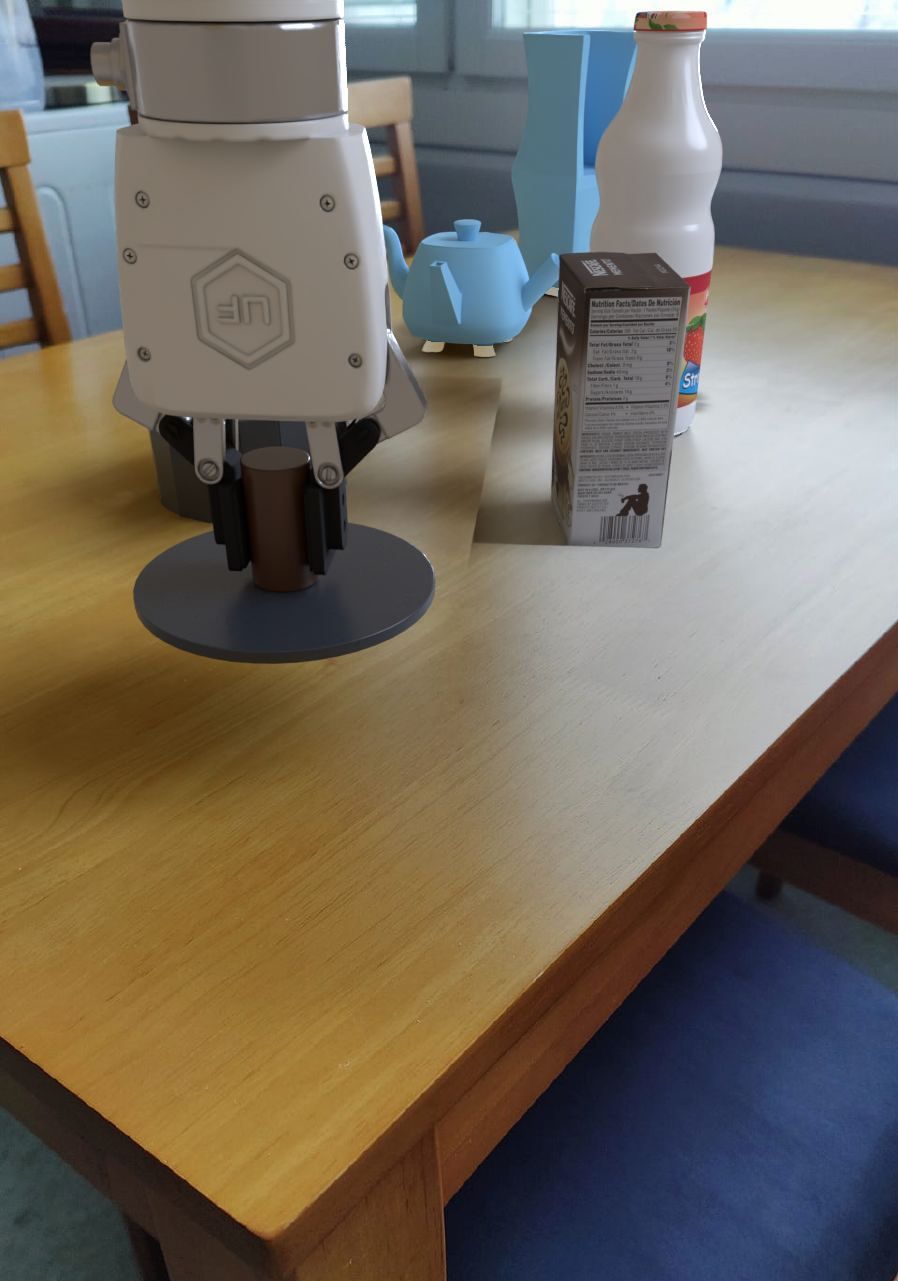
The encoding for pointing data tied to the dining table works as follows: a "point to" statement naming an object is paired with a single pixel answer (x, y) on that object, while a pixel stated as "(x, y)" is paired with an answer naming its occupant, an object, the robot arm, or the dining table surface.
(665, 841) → the dining table surface
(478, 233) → the teapot
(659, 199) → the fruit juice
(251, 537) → the lid
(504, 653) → the dining table surface
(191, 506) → the pot
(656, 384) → the coffee box
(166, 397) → the robot arm
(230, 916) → the dining table surface
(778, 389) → the dining table surface
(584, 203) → the vase
